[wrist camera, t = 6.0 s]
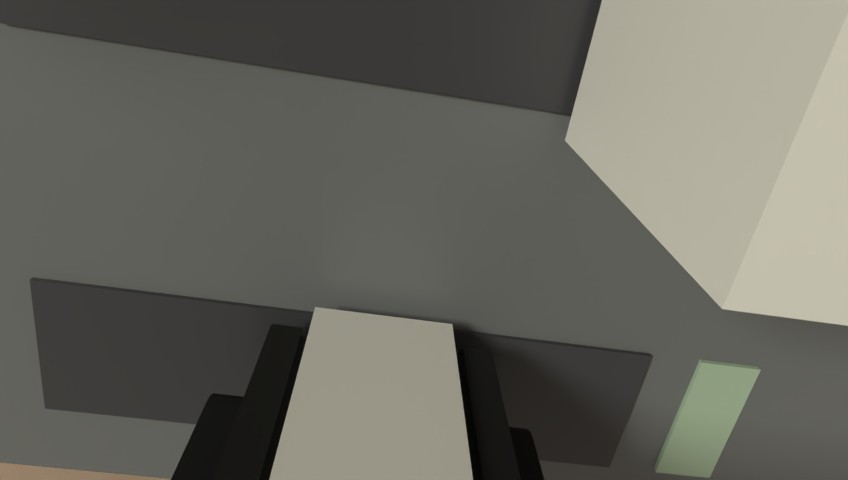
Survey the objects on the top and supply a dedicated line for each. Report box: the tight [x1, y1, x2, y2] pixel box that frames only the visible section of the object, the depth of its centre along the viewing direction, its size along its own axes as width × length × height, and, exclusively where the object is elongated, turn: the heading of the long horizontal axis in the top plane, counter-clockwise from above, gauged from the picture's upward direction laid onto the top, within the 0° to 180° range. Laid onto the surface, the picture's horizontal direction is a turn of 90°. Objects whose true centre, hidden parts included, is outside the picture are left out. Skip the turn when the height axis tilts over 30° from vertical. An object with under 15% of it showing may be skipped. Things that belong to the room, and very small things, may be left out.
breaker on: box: [565, 0, 848, 326], centre depth 6 cm, size 4×2×5 cm
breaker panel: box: [0, 0, 848, 480], centre depth 11 cm, size 13×22×3 cm, turn 81°
